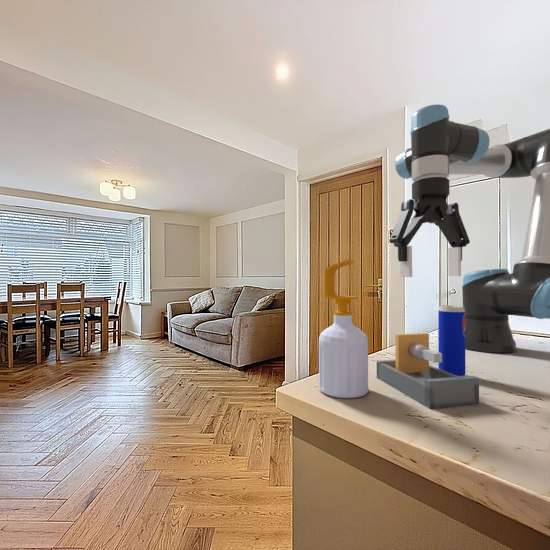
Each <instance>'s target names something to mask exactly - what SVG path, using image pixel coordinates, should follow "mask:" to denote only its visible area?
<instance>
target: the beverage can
mask: <svg viewBox="0 0 550 550" xmlns="http://www.w3.org/2000/svg"><path fill="white" fill-rule="evenodd" d="M437 313H438V317H437V318H438V319H437V321H438V324H437V325H438V329H437V330H438V331H437V333H438V337H437V338H438V340H437V341H438V352H439V353H442V362H440V363H438V368H439V369H442V370H444V371H447V372H449V373H452V374H454V375H457V376H459V377H462V376H466V349H465V309H464V307H463V305H447V304H446V305H443V304H442V305H439V307H438V312H437Z"/></svg>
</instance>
